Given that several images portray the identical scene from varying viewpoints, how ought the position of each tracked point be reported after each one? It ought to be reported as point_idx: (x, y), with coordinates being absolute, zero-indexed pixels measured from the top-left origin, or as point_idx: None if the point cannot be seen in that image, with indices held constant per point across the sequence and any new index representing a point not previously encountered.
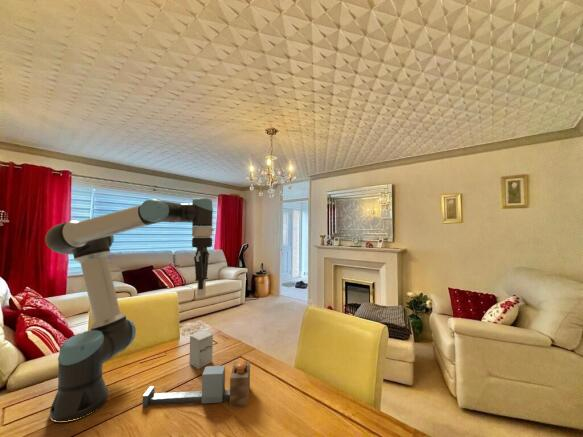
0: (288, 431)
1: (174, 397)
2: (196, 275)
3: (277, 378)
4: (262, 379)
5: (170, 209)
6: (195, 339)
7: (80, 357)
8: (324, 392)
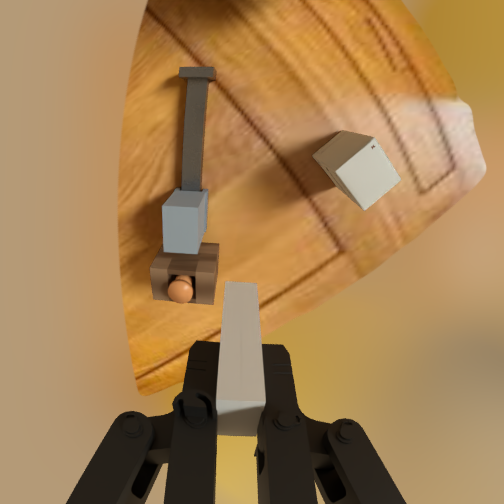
0: (124, 314)
1: (185, 130)
2: (96, 462)
3: None
4: None
5: None
6: (348, 157)
7: None
8: None
